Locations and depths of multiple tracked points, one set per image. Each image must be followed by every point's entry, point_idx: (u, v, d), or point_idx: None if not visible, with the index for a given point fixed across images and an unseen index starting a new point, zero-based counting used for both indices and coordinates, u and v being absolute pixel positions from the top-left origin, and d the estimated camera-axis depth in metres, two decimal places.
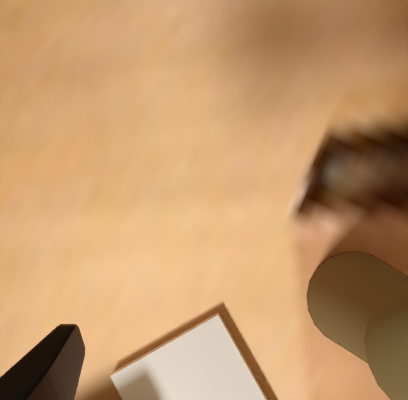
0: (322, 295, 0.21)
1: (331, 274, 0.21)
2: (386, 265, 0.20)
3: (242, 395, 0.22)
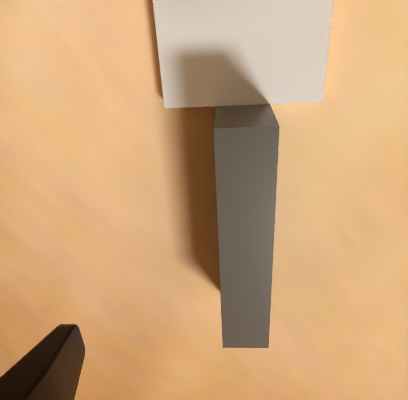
0: None
1: None
2: None
3: None
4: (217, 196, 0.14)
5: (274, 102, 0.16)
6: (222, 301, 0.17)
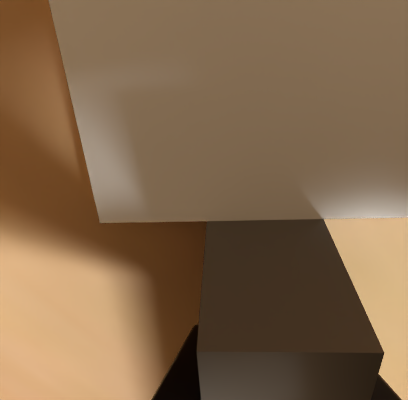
0: None
1: None
2: None
3: None
4: None
5: (334, 216, 0.07)
6: None
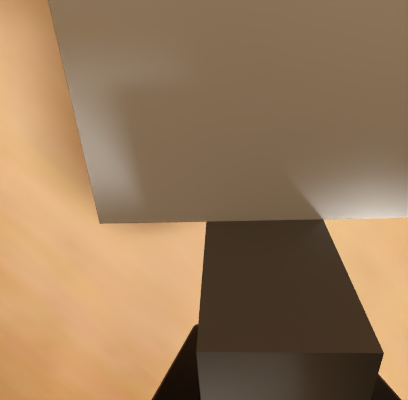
0: None
1: None
2: None
3: None
4: None
5: (333, 216, 0.07)
6: None
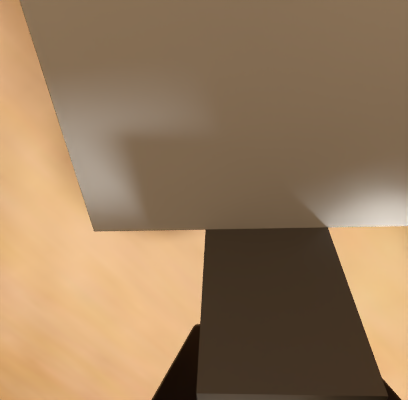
0: None
1: None
2: None
3: None
4: None
5: (339, 225, 0.07)
6: None
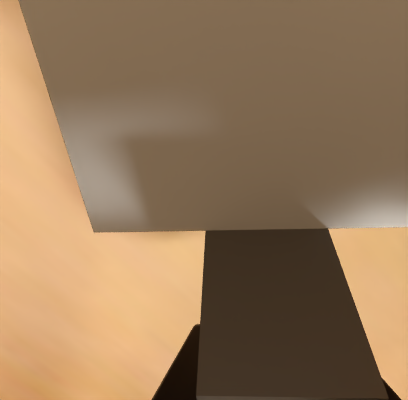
0: None
1: None
2: None
3: None
4: None
5: (339, 226, 0.07)
6: None
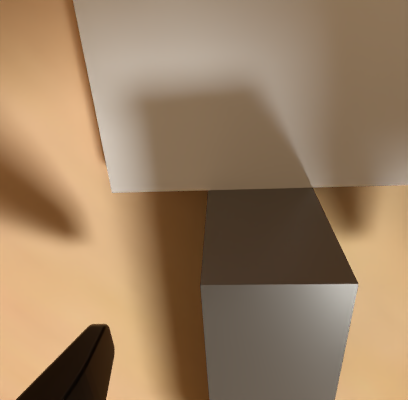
0: None
1: None
2: None
3: None
4: (211, 396, 0.07)
5: (322, 185, 0.08)
6: None
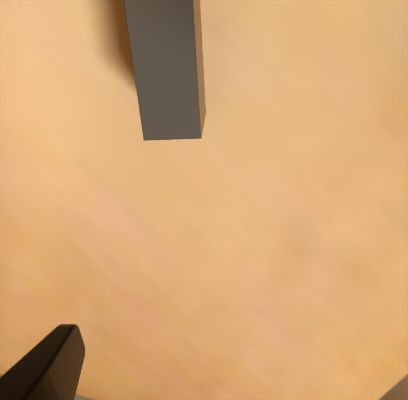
0: None
1: None
2: None
3: None
4: None
5: None
6: (133, 54, 0.13)
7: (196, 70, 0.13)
